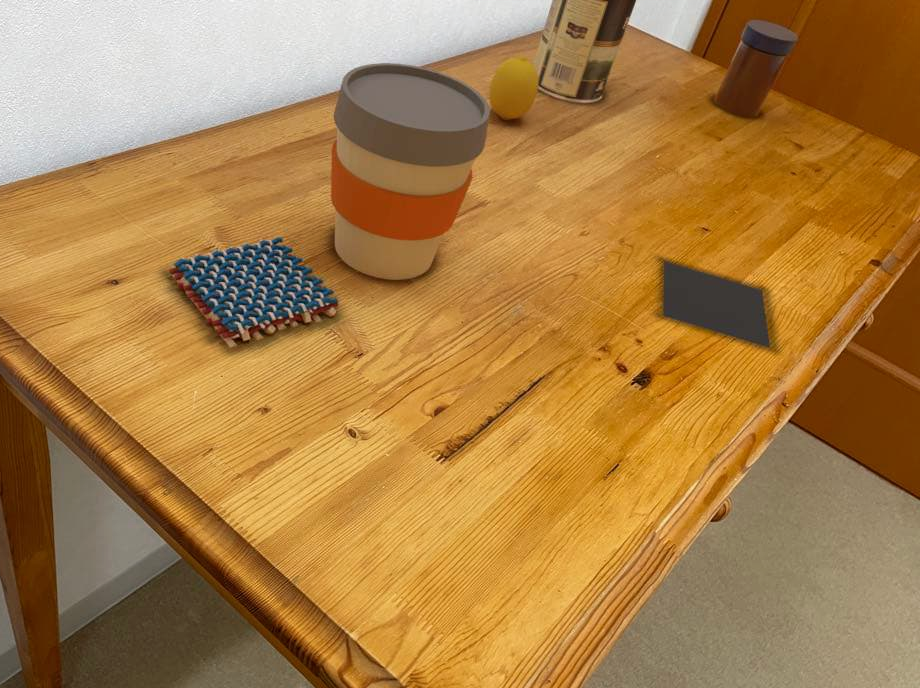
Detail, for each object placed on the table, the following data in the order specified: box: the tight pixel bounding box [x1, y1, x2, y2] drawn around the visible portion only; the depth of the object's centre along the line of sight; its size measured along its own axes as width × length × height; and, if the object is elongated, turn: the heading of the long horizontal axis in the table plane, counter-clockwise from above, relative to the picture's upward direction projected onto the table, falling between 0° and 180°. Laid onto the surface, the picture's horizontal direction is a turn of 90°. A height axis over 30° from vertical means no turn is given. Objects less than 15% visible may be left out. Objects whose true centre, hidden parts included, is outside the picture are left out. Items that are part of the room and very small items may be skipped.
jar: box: [713, 38, 789, 119], centre depth 117 cm, size 6×6×11 cm
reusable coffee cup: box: [330, 62, 491, 281], centre depth 72 cm, size 13×12×15 cm
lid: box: [740, 19, 799, 56], centre depth 114 cm, size 7×7×2 cm
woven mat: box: [169, 236, 339, 349], centre depth 69 cm, size 10×11×2 cm
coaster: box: [662, 260, 771, 349], centre depth 81 cm, size 10×10×1 cm
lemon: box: [489, 55, 539, 121], centre depth 101 cm, size 6×6×8 cm
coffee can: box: [533, 0, 637, 104], centre depth 110 cm, size 10×10×14 cm
